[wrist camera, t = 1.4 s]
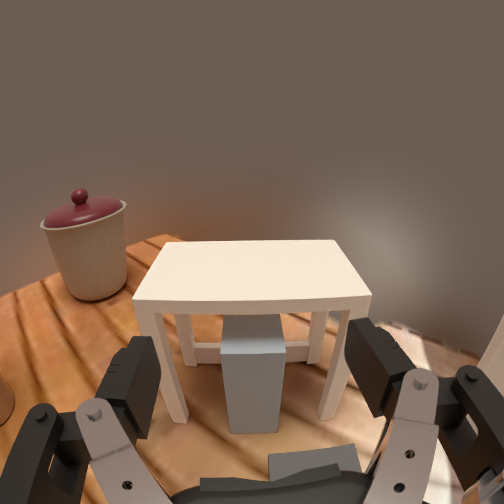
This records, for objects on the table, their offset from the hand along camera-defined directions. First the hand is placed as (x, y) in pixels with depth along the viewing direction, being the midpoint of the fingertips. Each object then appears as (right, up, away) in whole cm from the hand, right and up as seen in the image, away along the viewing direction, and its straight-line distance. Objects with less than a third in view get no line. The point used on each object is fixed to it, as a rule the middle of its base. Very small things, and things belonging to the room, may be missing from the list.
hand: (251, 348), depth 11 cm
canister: (-32, -4, +42) cm, 53 cm away
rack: (0, -13, +21) cm, 25 cm away
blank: (0, -15, +17) cm, 23 cm away
